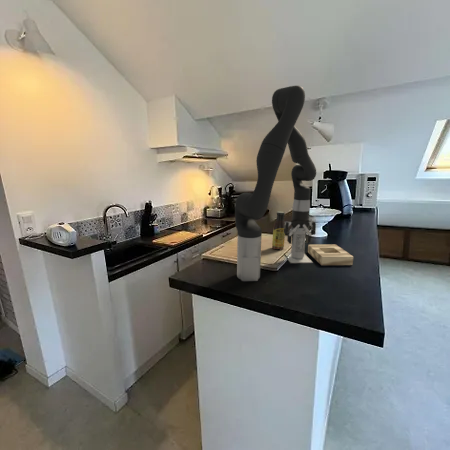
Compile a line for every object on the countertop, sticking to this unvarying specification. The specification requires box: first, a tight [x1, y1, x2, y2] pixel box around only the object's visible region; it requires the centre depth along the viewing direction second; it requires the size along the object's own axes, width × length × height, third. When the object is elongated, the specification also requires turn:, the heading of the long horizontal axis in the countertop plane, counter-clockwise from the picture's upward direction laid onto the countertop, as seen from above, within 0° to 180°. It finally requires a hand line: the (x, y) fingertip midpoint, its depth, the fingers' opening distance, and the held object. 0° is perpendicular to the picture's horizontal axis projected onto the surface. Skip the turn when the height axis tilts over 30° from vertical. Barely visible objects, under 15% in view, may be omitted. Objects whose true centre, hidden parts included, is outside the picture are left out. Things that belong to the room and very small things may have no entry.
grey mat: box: [287, 253, 314, 264], centre depth 124 cm, size 12×10×1 cm
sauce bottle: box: [271, 211, 286, 250], centre depth 136 cm, size 6×6×20 cm
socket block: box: [307, 244, 354, 266], centre depth 124 cm, size 18×14×4 cm
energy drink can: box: [290, 228, 307, 259], centre depth 122 cm, size 6×6×15 cm
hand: (298, 243), depth 122 cm, fingers open, 8 cm apart
